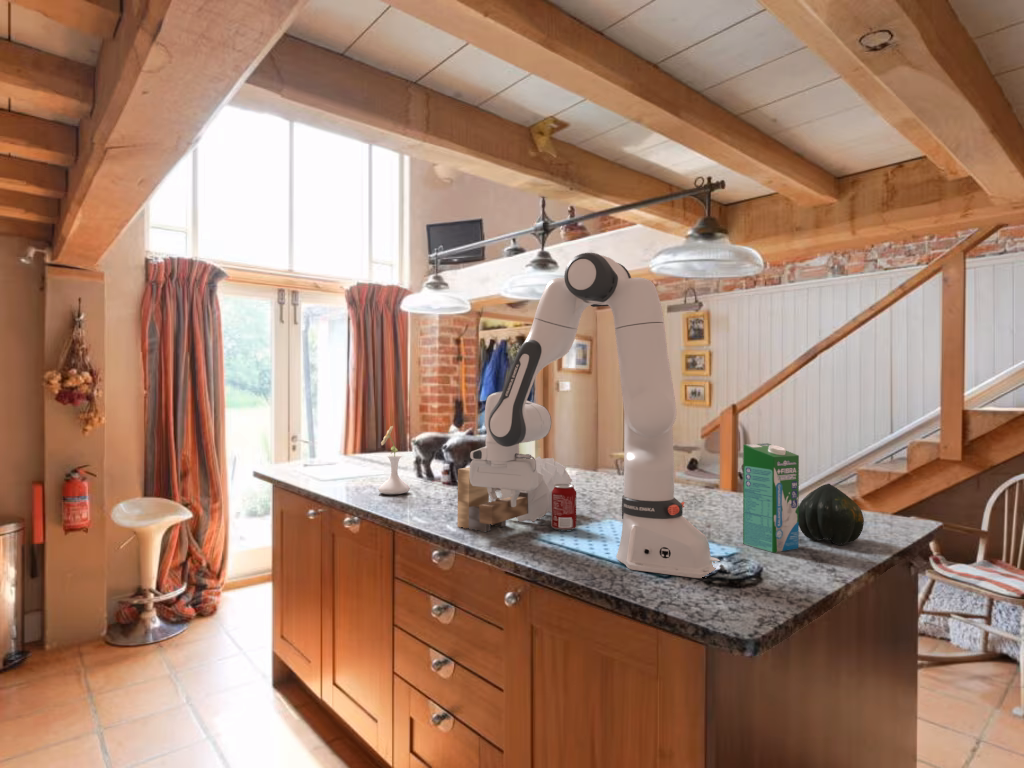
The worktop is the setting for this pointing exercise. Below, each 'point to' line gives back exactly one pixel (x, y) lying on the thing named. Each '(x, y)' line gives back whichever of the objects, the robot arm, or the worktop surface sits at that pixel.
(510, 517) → the wooden block
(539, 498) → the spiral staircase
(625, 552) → the robot arm
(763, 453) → the milk carton
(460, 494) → the post
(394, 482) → the flower in vase
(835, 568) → the worktop surface
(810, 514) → the squash
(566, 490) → the soda can
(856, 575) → the worktop surface
